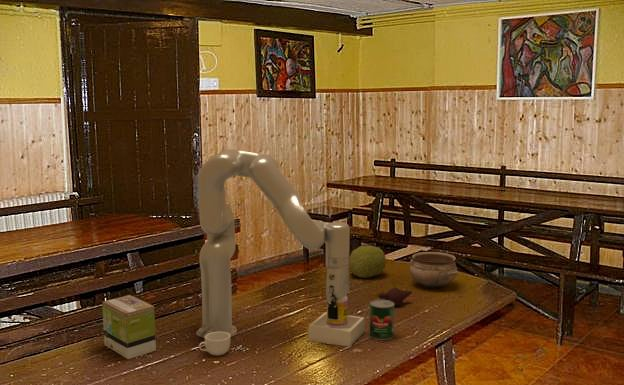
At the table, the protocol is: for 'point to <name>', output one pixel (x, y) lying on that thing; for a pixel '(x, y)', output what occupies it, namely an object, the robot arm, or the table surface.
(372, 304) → the canned tomato
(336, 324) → the supplement bottle
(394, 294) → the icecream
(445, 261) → the cooking pot
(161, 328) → the table surface
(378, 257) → the fruit
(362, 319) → the tub
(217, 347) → the teacup
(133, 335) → the tea box
